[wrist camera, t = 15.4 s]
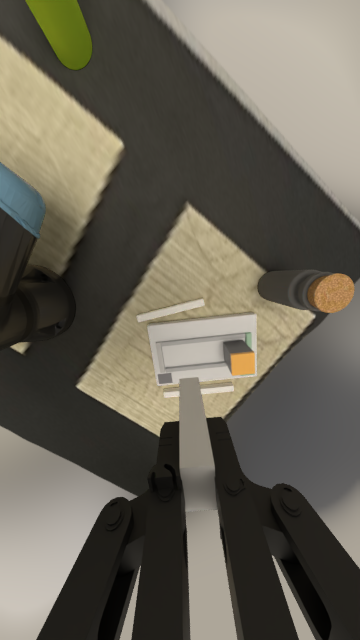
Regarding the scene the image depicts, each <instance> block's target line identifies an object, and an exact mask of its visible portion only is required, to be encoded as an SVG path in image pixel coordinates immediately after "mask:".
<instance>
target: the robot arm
mask: <svg viewBox="0 0 360 640" xmlns="http://www.w3.org/2000/svg"><path fill="white" fill-rule="evenodd" d="M45 212H46V206H45V202H44V200H43V198H42V196H41V195H40V193H39V192H38V191H37V190H36V189H35V188H33V187H32V186H31V185H30V184H28V183H27V182H26V181H25V180H23V179H22V178H21V177H19V176H18V175H17V174H15V173H14V172H13V171H12V170H10V169H9V168H8V167H6V166H5V165H4V164H2V163H1V162H0V351H1V350H3V349H5V348H8V347H10V346H12V345H14V344H17V343H19V342H32V341H43V340H48V339H51V338H53V337H55V336H57V335H59V334H61V333H63V332H64V331H66V330H67V329H68V328H69V326H70V325H71V323H72V322H73V319H74V316H75V301H74V297H73V294H72V292H71V290H70V288H69V287H68V285H67V284H66V283H65V281H64V280H63V279H62V278H61V277H60V276H58V275H57V274H56V273H54V272H53V271H51V270H49V269H47V268H44V267H41V266H36V265H27V263H28V261H29V258H30V256H31V253H32V251H33V248H34V246H35V244H36V241H37V239H39V238H40V234H39V232H40V228H41V225H42V222H43V219H44V216H45ZM147 479H148V483H149V489H148V490H147V491H146V492H145V493H144V494H142V495H141V496H139V497H137V498H135V499H133V500H130V501H128V500H127V499H126V498H124V497H117V498H115V499H113V500H111V501H110V502H109V503H107V504H106V505H105V506H104V508H103V509H102V511H101V512H100V515H99V516H98V518H97V520H96V522H95V524H94V526H93V528H92V530H91V532H90V534H89V536H88V538H87V540H86V542H85V544H84V546H83V548H82V550H81V552H80V554H79V556H78V558H77V560H76V562H75V564H74V566H73V568H72V570H71V572H70V574H69V576H68V578H67V580H66V582H65V584H64V586H63V588H62V590H61V592H60V594H59V596H58V598H57V600H56V602H55V604H54V606H53V608H52V610H51V612H50V614H49V616H48V618H47V620H46V622H45V624H44V626H43V628H42V629H41V632H40V633H39V636H38V637H37V639H36V640H119V639H120V635H121V632H122V628H123V625H124V621H125V617H126V614H127V610H128V607H129V603H130V600H131V596H132V592H133V589H134V585H135V582H136V578H137V574H138V571H139V567H140V566H141V570H140V577H139V585H138V593H137V600H136V608H135V616H134V624H133V632H132V639H131V640H190V616H189V586H188V585H189V583H188V552H187V528H186V515H185V512H191V511H203V510H217V509H218V514H219V522H220V537H221V539H222V544H223V550H224V557H225V563H226V569H227V576H228V582H229V589H230V595H231V601H232V608H233V614H234V620H235V626H236V633H237V639H238V640H299V638H298V636H297V632H296V629H295V626H294V623H293V620H292V617H291V614H290V611H289V608H288V605H287V601H286V599H285V595H284V592H283V589H282V586H281V583H280V580H279V577H278V574H277V571H276V568H275V565H274V562H273V558H272V555H273V556H274V557H275V559H276V561H277V563H278V565H279V567H280V569H281V571H282V573H283V575H284V577H285V579H286V581H287V583H288V585H289V587H290V589H291V591H292V593H293V595H294V597H295V599H296V601H297V603H298V605H299V607H300V609H301V611H302V613H303V615H304V617H305V619H306V621H307V623H308V625H309V627H310V629H311V631H312V633H313V635H314V637H315V639H316V640H360V569H359V567H358V566H357V565H356V564H355V562H354V561H353V560H352V558H351V557H350V556H349V554H348V553H347V552H346V551H345V549H344V548H343V547H342V545H341V544H340V543H339V541H338V540H337V539H336V538H335V536H334V535H333V534H332V532H331V531H330V530H329V528H328V527H327V526H326V525H325V523H324V522H323V521H322V519H321V518H320V517H319V515H318V514H317V513H316V512H315V510H314V509H313V508H312V506H311V505H310V504H309V503H308V501H307V500H306V499H305V497H304V496H303V495H302V494H301V493H300V492H299V491H298V490H297V489H295V488H294V487H292V486H290V485H287V484H284V483H282V484H276V485H275V486H274V487H273V488H272V489H269V488H266V487H262V486H259V485H257V484H254V483H253V482H251V481H250V480H249V479H248V478H247V477H246V476H245V475H244V474H243V472H242V470H241V468H240V465H239V462H238V459H237V455H236V452H235V450H234V446H233V443H232V440H231V437H230V433H229V430H228V427H227V424H226V422H225V421H224V420H223V419H222V418H221V417H214V418H206V416H205V411H204V405H203V400H202V394H201V389H200V384H199V378H198V377H193V378H182V379H179V421H175V422H165V423H164V425H163V427H162V428H161V431H160V440H159V448H158V457H157V464H156V465H155V466H153V468H152V469H151V471H150V472H149V475H148V478H147Z"/></svg>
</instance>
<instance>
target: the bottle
mask: <svg viewBox="0 0 360 640" xmlns="http://www.w3.org/2000/svg"><path fill="white" fill-rule="evenodd" d="M258 292H259V294H260V295H261V297H263V298H264V299H266V300H269V301H272V302H276V303H279V304H282V305H286V306H289V307H293V308H296V309H300V310H313V311H323V312H326V313H333V312H337V311H340V310H341V309H343V308H345V307H346V306H347V305H348V304H349V302H350V301H351V299H352V298H353V295H354V284H353V281H352V280H351V279H350V278H349V277H348V276H346V275H344V274H333V273H330V272H320V271H317V270H281V271H270V272H268V273H266V274H264V275H263V276H262V277H261V279H260V281H259V283H258Z"/></svg>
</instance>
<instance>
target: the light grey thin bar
mask: <svg viewBox="0 0 360 640" xmlns="http://www.w3.org/2000/svg"><path fill="white" fill-rule="evenodd" d="M201 306H205V305H204V300H203V298H200V299H196V300H192V301H188V302H185V303H181V304H177V305H173V306H169V307H165V308H161V309H157V310H154V311H150V312H146V313H142V314H138V315H137V316H136V317H137V320H138V322H142V321H146V320H150V319H154V318H158V317H162V316H166V315H170V314H174V313H178V312H181V311H185V310H189V309H193V308H197V307H201Z"/></svg>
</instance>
